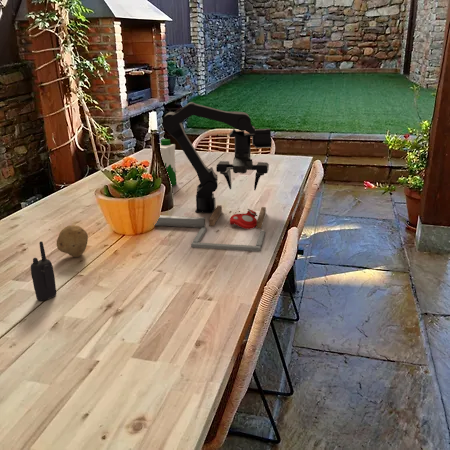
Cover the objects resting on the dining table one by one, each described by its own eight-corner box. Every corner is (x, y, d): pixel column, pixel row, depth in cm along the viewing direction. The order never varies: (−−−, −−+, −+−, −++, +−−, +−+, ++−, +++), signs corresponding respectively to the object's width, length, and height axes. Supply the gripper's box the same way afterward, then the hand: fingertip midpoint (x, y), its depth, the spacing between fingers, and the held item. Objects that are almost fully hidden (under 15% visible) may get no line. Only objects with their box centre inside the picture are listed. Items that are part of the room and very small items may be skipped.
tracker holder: (260, 226, 160) (231, 221, 159) (256, 237, 162) (228, 231, 161) (258, 207, 170) (231, 202, 169) (255, 217, 172) (228, 212, 171)
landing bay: (191, 247, 148) (191, 244, 147) (201, 230, 161) (201, 227, 160) (259, 251, 144) (259, 248, 143) (264, 233, 157) (264, 230, 156)
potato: (58, 264, 138) (53, 233, 134) (59, 252, 146) (54, 222, 142) (90, 260, 140) (86, 229, 136) (90, 248, 148) (86, 219, 144)
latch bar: (154, 225, 165) (153, 217, 164) (155, 223, 167) (155, 215, 166) (204, 227, 162) (203, 219, 161) (205, 225, 164) (205, 217, 163)
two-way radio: (53, 290, 123) (43, 238, 118) (62, 296, 121) (53, 242, 115) (33, 299, 119) (23, 245, 114) (43, 305, 117) (32, 249, 111)
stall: (209, 226, 164) (209, 219, 163) (217, 211, 178) (217, 205, 177) (261, 228, 161) (261, 221, 160) (265, 213, 174) (265, 207, 174)
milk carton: (179, 183, 213) (177, 139, 206) (168, 189, 206) (165, 143, 198) (163, 181, 217) (160, 138, 210) (151, 186, 210) (148, 142, 202)
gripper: (212, 152, 166) (213, 195, 171) (266, 153, 162) (265, 197, 168) (219, 145, 176) (219, 186, 181) (269, 147, 172) (268, 188, 178)
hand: (242, 189), depth 177 cm, fingers open, 9 cm apart
